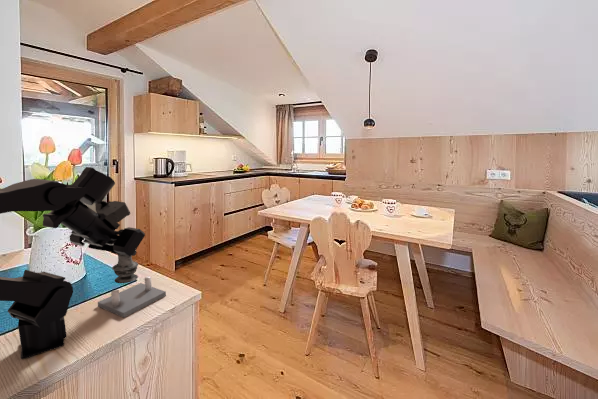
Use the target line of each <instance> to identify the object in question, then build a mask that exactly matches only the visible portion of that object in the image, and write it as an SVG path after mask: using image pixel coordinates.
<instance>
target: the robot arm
mask: <svg viewBox="0 0 598 399" xmlns="http://www.w3.org/2000/svg"><path fill="white" fill-rule="evenodd" d="M115 185H116V182H115V181H114V179H113V178H112V177H111V176H108V175H106V174H105V173H103V172H101V171H98V170H96V169H95V168H94V167H87V166H86V167H84V169H83V170H82V171H81V174H80V175H78V177H77V178H76V179H75V180H74V181H73V183H72V184H65V183H63V182H62V181H58V180H49V179H43V178H41V179H40V178H31V179H27V180H24V181H20V182H19V181H18V182H16V183H13V184H11V185H8V186H5V187H3V188H0V214H8V213H12V212H49V213H43V214H42V217H43V218H42V226H43V227H45V228H50V229H51V228H52V229H58V228H59V226H60V225H62V226H64V227H65V228H67V229H69V230H71V232H70V233H71V234H70V235H69V242H70V243H72V244H74V245H75V246H79V247H84V246H85V244H88V246H87V247H88V248H89V249H92V250H95V251H96V250H97V251H104V252H110V253H112V254H116V255H118V254H121V255H126V256H131V255H132V257H133V256H136V254H137V249H138V248H139V246H140V244H141V243H142V241H143V239H144V238H145V236H146V233H145V232H144V231H143V230H142V229H140V228H135V227H130V226H129V227H126V228H124V229H123V228H121V229H119V230H118V228H120V226H121V224H120V223H119V222H121V221H122V220H124V219H125V218H126V217H128V216H130V215H131V211H130V210H129V207H128V205H127V204H126V202H125V201H119V200H118V201H117V200H113V201H112V200H111V201H108V202H107V201H106V200H104V199H105V198H106V197H107V195H108V194H109V193H110V192H111V190H112V189H113V187H115ZM87 205H88V206H87ZM93 205H95V211H94V210H93V209H92V208H90V207H89V206H93ZM23 271H24V272H23V275H22V276H18V277H4V276H0V302H12V304H11V305H10V306H9V308H8V309H7V313H8V314H9V316H11V317H12V318H13V319H18V324H17V328H18V335H19V341H20V342H19V343H20V348H21V349H20V359H22V360H23V359H28V358H30V357H33V356H37V355H40V354H42V353H46V352H49V351H52V350H55V349H59V348H61V347H64V346H65V339H66V338H67V329H66V320H65V317H66V316H67V314H68V311H69V310H68V309H69V306H70V302H71V298H72V297H73V293H74V288H73V284H72V282H70V281H66V276H65V277H64V276H61V275H58V274H53V273H50V272H46V271H41V272H37V271H36V272H35V271H31V270H28V269H24V270H23Z"/></svg>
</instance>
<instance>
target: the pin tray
mask: <svg viewBox="0 0 598 399" xmlns="http://www.w3.org/2000/svg"><path fill="white" fill-rule="evenodd" d="M110 292H111V293H110V294H111V295H110V296H109V297H106V298H103V299H102V300H99V301H97V307H98V308H101V309H103V310H105V311H108V312H110V313H112V314H114V315H117V316H119V317H121V318H126V317H128V316H130V315H132V314H135V313H136V312H138V311H139V310H142V309H143V308H145V307H147V306H149V305H150V304H153V303H154V301H155V302H157V301H158V299H159V300H160V298H161V299H162V298H164V297H166V296H167V291H165V290H162V289H159V288H157V287H154V286H152V276H150V275H147V276H144V283H142V282H140V283H138V284H136V285H133V286H131V287H129V288H127V289H124V290H122V291H120V290H118V289H115V290H112V291H110ZM156 300H157V301H156Z"/></svg>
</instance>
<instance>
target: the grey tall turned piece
mask: <svg viewBox="0 0 598 399" xmlns="http://www.w3.org/2000/svg"><path fill="white" fill-rule="evenodd" d="M117 259H118V260H117V263H115V264H114V265H113V266H112V270H113V272H114V274H115V276H117V277H116V278H114V283H117V284H129V283H131V282H134V281H136V280H137V279H138V278H139V275H138V274H136V272H137V269H138V266H139V263H138V262H137V261H134V260H133V256H132V255H131V256H126V255H121V254H117Z"/></svg>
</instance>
